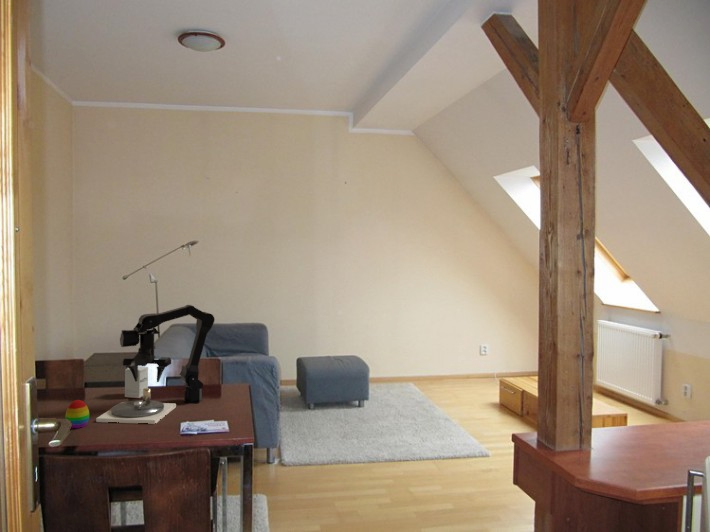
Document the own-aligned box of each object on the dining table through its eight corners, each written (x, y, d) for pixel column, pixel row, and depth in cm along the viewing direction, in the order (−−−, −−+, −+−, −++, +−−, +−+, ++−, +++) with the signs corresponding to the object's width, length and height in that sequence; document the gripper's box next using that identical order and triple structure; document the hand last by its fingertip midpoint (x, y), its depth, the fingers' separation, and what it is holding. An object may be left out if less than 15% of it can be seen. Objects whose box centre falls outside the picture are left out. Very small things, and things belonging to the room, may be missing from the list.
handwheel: (152, 418, 225) (152, 402, 225) (101, 416, 226) (101, 400, 226) (171, 403, 246) (171, 388, 245) (124, 401, 246) (125, 387, 246)
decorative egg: (81, 421, 225) (81, 396, 225) (93, 425, 220) (93, 399, 220) (61, 426, 218) (60, 400, 218) (72, 431, 214) (72, 404, 213)
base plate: (175, 407, 247) (175, 403, 247) (155, 424, 224) (155, 419, 224) (122, 405, 248) (122, 401, 248) (96, 422, 225) (96, 417, 225)
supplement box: (139, 398, 259) (139, 370, 258) (124, 397, 260) (124, 369, 260) (148, 394, 266) (148, 366, 265) (133, 393, 267) (133, 365, 267)
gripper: (116, 347, 236) (116, 386, 237) (161, 349, 235) (161, 387, 236) (128, 343, 247) (128, 379, 248) (171, 344, 246) (171, 380, 247)
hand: (147, 381), depth 244 cm, fingers open, 9 cm apart
